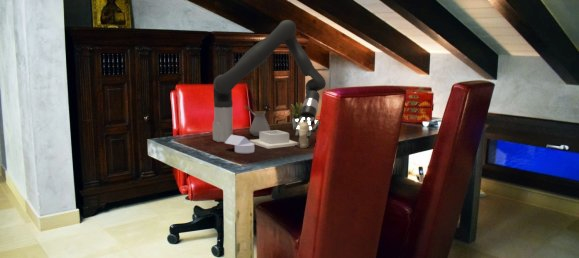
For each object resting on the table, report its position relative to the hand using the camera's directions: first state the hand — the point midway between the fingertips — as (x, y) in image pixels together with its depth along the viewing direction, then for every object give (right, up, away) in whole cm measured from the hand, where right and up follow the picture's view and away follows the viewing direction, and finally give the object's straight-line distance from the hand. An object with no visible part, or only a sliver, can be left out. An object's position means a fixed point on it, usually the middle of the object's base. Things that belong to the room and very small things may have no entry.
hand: (302, 137), depth 237 cm
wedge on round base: (-29, -6, -8) cm, 30 cm away
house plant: (-1, +3, +55) cm, 55 cm away
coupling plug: (0, -5, +3) cm, 6 cm away
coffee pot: (-25, +1, +38) cm, 46 cm away
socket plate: (-14, -3, +10) cm, 17 cm away
